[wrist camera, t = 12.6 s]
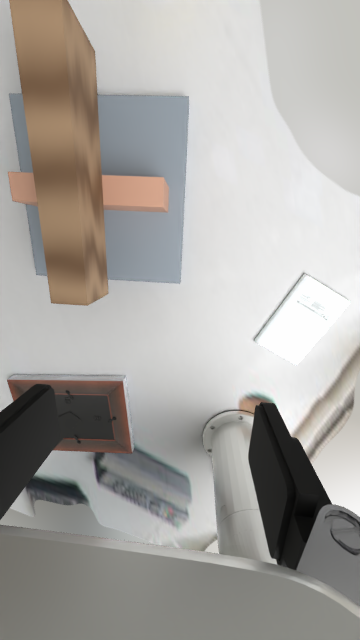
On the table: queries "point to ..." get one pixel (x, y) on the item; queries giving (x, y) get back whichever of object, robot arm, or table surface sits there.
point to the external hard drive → (301, 320)
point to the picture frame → (86, 410)
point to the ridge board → (130, 155)
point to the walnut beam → (63, 146)
